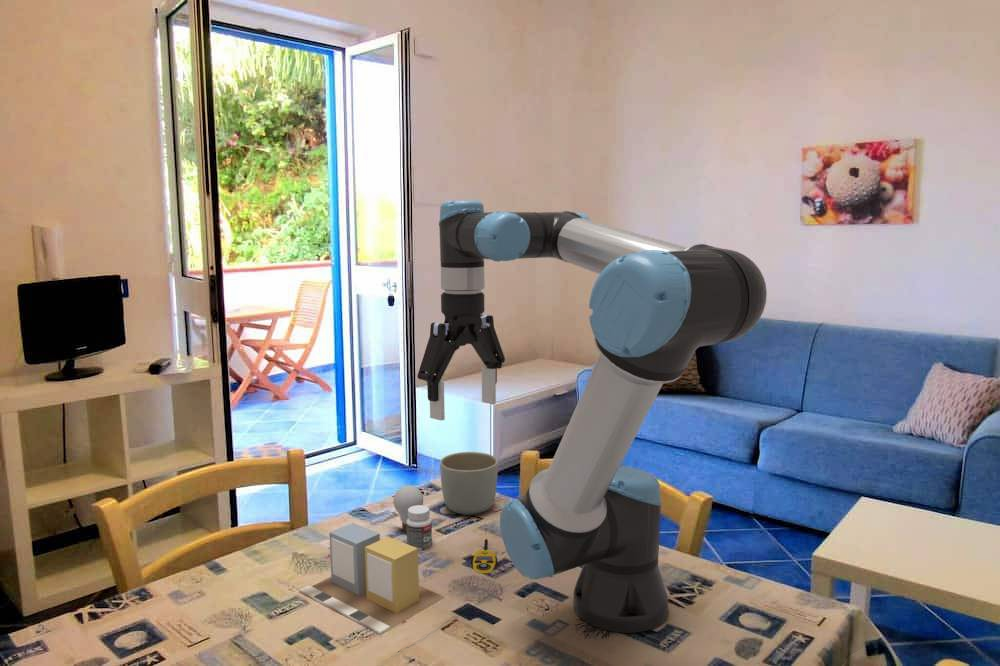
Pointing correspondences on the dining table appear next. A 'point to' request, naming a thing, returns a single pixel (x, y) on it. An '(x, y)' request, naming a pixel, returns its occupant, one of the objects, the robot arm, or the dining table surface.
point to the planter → (469, 481)
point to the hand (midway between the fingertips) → (464, 410)
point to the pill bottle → (419, 527)
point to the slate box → (350, 556)
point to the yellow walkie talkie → (484, 560)
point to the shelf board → (366, 605)
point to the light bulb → (406, 501)
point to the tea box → (392, 574)
